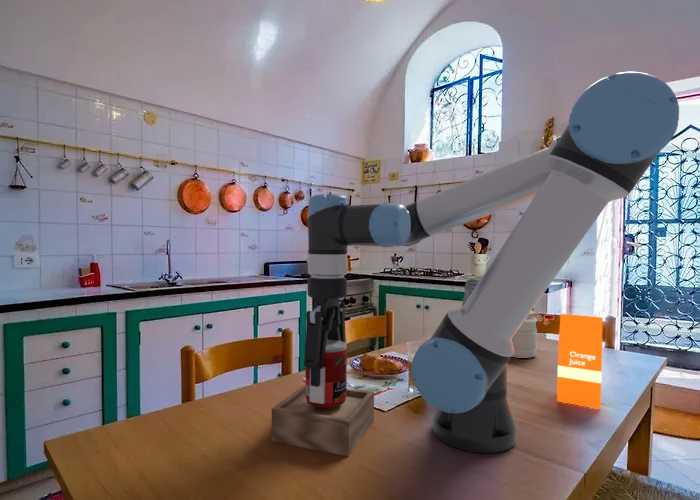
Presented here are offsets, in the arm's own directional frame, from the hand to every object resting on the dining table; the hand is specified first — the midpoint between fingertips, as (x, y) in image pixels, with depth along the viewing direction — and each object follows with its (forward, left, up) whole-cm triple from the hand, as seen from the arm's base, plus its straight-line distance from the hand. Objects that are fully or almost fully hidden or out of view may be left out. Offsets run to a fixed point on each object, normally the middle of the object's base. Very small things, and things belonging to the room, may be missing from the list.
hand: (326, 394), depth 82 cm
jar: (-36, -74, -7) cm, 83 cm away
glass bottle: (-26, -38, -7) cm, 47 cm away
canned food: (0, 0, -1) cm, 1 cm away
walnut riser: (0, 0, -7) cm, 7 cm away
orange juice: (-49, -36, -7) cm, 61 cm away
